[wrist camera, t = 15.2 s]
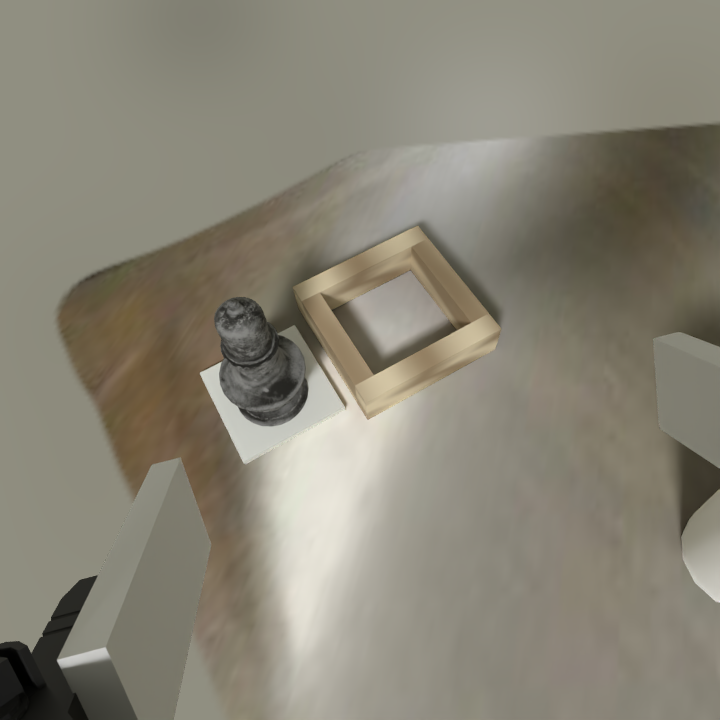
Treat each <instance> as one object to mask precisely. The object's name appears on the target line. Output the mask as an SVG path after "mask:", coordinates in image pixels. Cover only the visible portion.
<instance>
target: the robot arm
mask: <svg viewBox="0 0 720 720" xmlns="http://www.w3.org/2000/svg"><path fill="white" fill-rule="evenodd" d="M653 345H654V360H655V375H656V389H657V404H658V419H659V429H661V430H662V431H664V432H665V433H667V434H668V435H670V436H671V437H673V438H674V439H676V440H677V441H679V442H680V443H682V444H683V445H685V446H686V447H688V448H689V449H691V450H692V451H694V452H695V453H697V454H698V455H700V456H701V457H703V458H704V459H706V460H707V461H709V462H710V463H712V464H713V465H715V466H716V467H718V468H719V469H720V347H718V346H716V345H713V344H710V343H708V342H705V341H703V340H700V339H697V338H695V337H692V336H690V335H687V334H684V333H682V332H676V333H672V334H668V335H664V336H661V337H657V338H653ZM210 548H211V542H210V540H209V537H208V534H207V531H206V528H205V525H204V523H203V520H202V517H201V514H200V511H199V509H198V506H197V503H196V500H195V497H194V494H193V492H192V489H191V486H190V483H189V480H188V477H187V475H186V472H185V469H184V466H183V463H182V460H181V458H177V459H173V460H169V461H165V462H161V463H157V464H153V465H151V468H150V470H149V472H148V474H147V476H146V478H145V480H144V482H143V484H142V486H141V488H140V490H139V492H138V494H137V496H136V498H135V500H134V502H133V505H132V507H131V509H130V511H129V513H128V515H127V517H126V519H125V521H124V523H123V525H122V527H121V529H120V532H119V533H118V535H117V537H116V540H115V542H114V544H113V546H112V548H111V550H110V552H109V554H108V556H107V558H106V560H105V562H104V564H103V566H102V568H101V570H100V572H99V574H98V576H93V577H89V578H86V579H82V580H79V581H78V583H76V585H74V586H73V588H72V589H71V590H70V591H69V592H68V593H67V594H66V595H65V596H64V597H63V598H62V599H61V600H60V602H59V604H58V606H57V608H56V610H55V611H54V613H53V615H52V617H51V621H50V622H48V624H47V626H46V628H45V630H44V631H43V633H42V634H43V637H41V638H40V639H39V641H38V642H37V644H36V646H35V648H34V650H33V652H32V653H31V652H30V650H29V648H28V646H27V645H25V644H23V643H21V642H19V641H16V642H4V643H1V644H0V720H174V715H175V710H176V706H177V701H178V697H179V692H180V687H181V683H182V678H183V673H184V669H185V664H186V660H187V655H188V650H189V646H190V641H191V636H192V632H193V627H194V622H195V618H196V613H197V608H198V604H199V599H200V595H201V590H202V585H203V581H204V576H205V571H206V567H207V562H208V557H209V553H210Z"/></svg>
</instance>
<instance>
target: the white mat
mask: <svg viewBox="0 0 720 720" xmlns="http://www.w3.org/2000/svg"><path fill="white" fill-rule="evenodd" d="M278 335H281V336H284V337H286V338H288V339H289V340H291V341H293V342H294V343H295V344H296V345H297V346H298V347H299V349H300V351H301V352H302V354H303V356H304V360H305V366H306V371H305V378H306V380H307V385H308V396H307V400H306V402H305V405H304V407H303V408H302V410H301V411H300V412H299V414H298V415H296V416H295V417H294V418H293V419H291V420H290V421H288V422H286V423H284V424H282V425H277V426H272V427H271V426H260V425H257V424H254V423H252V422H250V421H249V420H247V419H246V418H245V417H244V416H243V415H242V413H241V412H240V410H239V408H238V406H236V405H235V404H233V403H232V402H230V400H229V399H228V398H227V397H226V396H225V395H224V393H223V390H222V388H221V386H220V380H219V372H220V366H221V363H222V362H220V363H218V364H216V365H214V366H212V367H210V368H208V369H206V370H205V371H203V372H201V373H200V375H201V377H202V379H203V381H204V383H205V385H206V387H207V389H208V391H209V393H210V395H211V398H212V400H213V402H214V404H215V406H216V408H217V410H218V412H219V414H220V416H221V418H222V420H223V422H224V424H225V426H226V428H227V430H228V432H229V434H230V436H231V438H232V440H233V442H234V444H235V446H236V448H237V450H238V452H239V455H240V457H241V459H242V461H243V463H244V464H247V463H249V462H251V461H252V460H254V459H256V458H258V457H260V456H262V455H263V454H265V453H267V452H269V451H271V450H273V449H274V448H276V447H278V446H280V445H282V444H284V443H285V442H287V441H289V440H291V439H293V438H295V437H296V436H298V435H300V434H302V433H304V432H306V431H307V430H309V429H311V428H313V427H315V426H317V425H318V424H320V423H322V422H324V421H326V420H328V419H329V418H331V417H333V416H335V415H337V414H339V413H340V412H342V411H344V410H345V406H344V405H343V403H342V402H341V400H340V398H339V397H338V395H337V393H336V392H335V390H334V388H333V387H332V385H331V383H330V382H329V380H328V379H327V377H326V375H325V374H324V372H323V370H322V369H321V367H320V365H319V364H318V362H317V360H316V359H315V357H314V356H313V354H312V352H311V351H310V349H309V347H308V346H307V344H306V342H305V341H304V339H303V337H302V336H301V334H300V333H299V331H298V329H297V328H296V326H295V325H294V326H292V327H290V328H288V329H286V330H284V331H282V332H280V333H278Z"/></svg>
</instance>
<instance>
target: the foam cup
mask: <svg viewBox="0 0 720 720" xmlns="http://www.w3.org/2000/svg"><path fill="white" fill-rule="evenodd" d="M681 541H682V555H683V561H684V563H685V565H686V566H687V568H688V570H689V572H690V574H691V576H692V578H693V580H694V582H695V583H696V584H697V585H698V586H699V587H700V588H702V589H703V590H704V591H705V592H706V593H707V594H708V595H709V596H710V597H712V598H713V599H714V600H715V601H716V602H719V603H720V489H719V490H718V491H717V492H716V493H715V494H714V495H713V496H712V497H710V498H709V499H708V500H707V501H706V502H705V503H704V504H703V505H702V506H701V507H700V508H699V509H698V510H697V511H696V512H695V513H694V514H693V515H692V517H690V519H689V521H688V523H687V525H686V527H685V529H684V531H683V534H682V536H681Z"/></svg>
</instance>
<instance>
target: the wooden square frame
mask: <svg viewBox="0 0 720 720" xmlns="http://www.w3.org/2000/svg"><path fill="white" fill-rule="evenodd" d="M410 270H411V271H412V272H413V274H414V275H415V276H416V278H417V279H418V280H419V281H420V283H421V284H422V285H423V287H424V288H425V289H426V291H427V292H428V293H429V295H430V296H431V297H432V298H433V300H434V301H435V302H436V304H437V305H438V306H439V308H440V309H441V310H442V312H443V313H444V314H445V315H446V317H447V318H448V319H449V321H450V322H451V323H452V325H453V326H454V327H455V329H456V330H457V331H455V332H453V333H452V334H450V335H448V336H446V337H444V338H442V339H440V340H439V341H437V342H435V343H433V344H431V345H429V346H428V347H426V348H424V349H422V350H420V351H418V352H416V353H415V354H413V355H411V356H409V357H407V358H405V359H403V360H402V361H400V362H398V363H396V364H394V365H392V366H390V367H389V368H387V369H385V370H383V371H381V372H379V373H377V374H376V375H373V373H372V372H371V370H370V369H369V367H368V366H367V364H366V362H365V361H364V359H363V358H362V356H361V355H360V353H359V352H358V350H357V349H356V347H355V346H354V344H353V343H352V341H351V340H350V338H349V336H348V335H347V333H346V332H345V330H344V329H343V327H342V326H341V324H340V323H339V321H338V320H337V318H336V317H335V315H334V314H333V312H332V311H331V310H333V309H335V308H337V307H339V306H341V305H342V304H344V303H346V302H348V301H350V300H352V299H354V298H356V297H358V296H360V295H362V294H364V293H366V292H368V291H370V290H372V289H374V288H376V287H378V286H380V285H382V284H384V283H386V282H388V281H390V280H392V279H394V278H396V277H398V276H400V275H402V274H404V273H406V272H408V271H410ZM293 290H294V294H295V297H296V301H297V305H298V308H299V310H300V312H301V313H302V315H303V317H304V318H305V320H306V321H307V323H308V325H309V326H310V328H311V329H312V331H313V333H314V334H315V336H316V337H317V339H318V341H319V342H320V344H321V345H322V347H323V349H324V350H325V352H326V353H327V355H328V357H329V358H330V360H331V361H332V363H333V365H334V366H335V368H336V370H337V371H338V373H339V374H340V376H341V378H342V379H343V381H344V382H345V384H346V386H347V387H348V389H349V390H350V392H351V394H352V395H353V397H354V398H355V400H356V402H357V403H358V405H359V406H360V408H361V410H362V411H363V413H364V414H365V416H366V418H367V419H370V418H372V417H374V416H376V415H377V414H379V413H381V412H383V411H385V410H386V409H388V408H390V407H392V406H394V405H395V404H397V403H399V402H401V401H403V400H404V399H406V398H408V397H410V396H412V395H413V394H415V393H417V392H419V391H421V390H423V389H424V388H426V387H428V386H430V385H432V384H433V383H435V382H437V381H439V380H441V379H442V378H444V377H446V376H448V375H450V374H451V373H453V372H455V371H457V370H459V369H460V368H462V367H464V366H466V365H468V364H469V363H471V362H473V361H475V360H477V359H478V358H480V357H482V356H484V355H486V354H488V353H489V352H491V351H493V350H495V348H496V345H497V342H498V338H499V335H500V332H501V328H500V326H499V325H498V324H497V323H496V322H495V320H494V319H493V318H492V317H491V315H490V314H489V313H488V312H487V310H486V309H485V308H484V307H483V305H482V304H481V303H480V302H479V301H478V299H477V298H476V297H475V296H474V294H473V293H472V292H471V291H470V289H469V288H468V287H467V286H466V284H465V283H464V282H463V281H462V280H461V278H460V277H459V276H458V275H457V273H456V272H455V271H454V270H453V268H452V267H451V266H450V265H449V264H448V262H447V261H446V260H445V259H444V257H443V256H442V255H441V254H440V252H439V251H438V250H437V249H436V247H435V246H434V245H433V244H432V243H431V241H430V240H429V239H428V238H427V236H426V235H425V234H424V233H423V231H422V230H421V229H420V228H419V227H418V226H416V227H414V228H411V229H409V230H407V231H405V232H403V233H401V234H399V235H397V236H395V237H393V238H391V239H389V240H387V241H385V242H383V243H381V244H379V245H377V246H375V247H373V248H371V249H369V250H367V251H365V252H363V253H361V254H359V255H357V256H355V257H352V258H350V259H348V260H346V261H344V262H342V263H340V264H338V265H336V266H334V267H332V268H330V269H328V270H326V271H324V272H322V273H320V274H318V275H316V276H314V277H312V278H310V279H308V280H306V281H304V282H302V283H300V284H298V285H296V286H293Z"/></svg>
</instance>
